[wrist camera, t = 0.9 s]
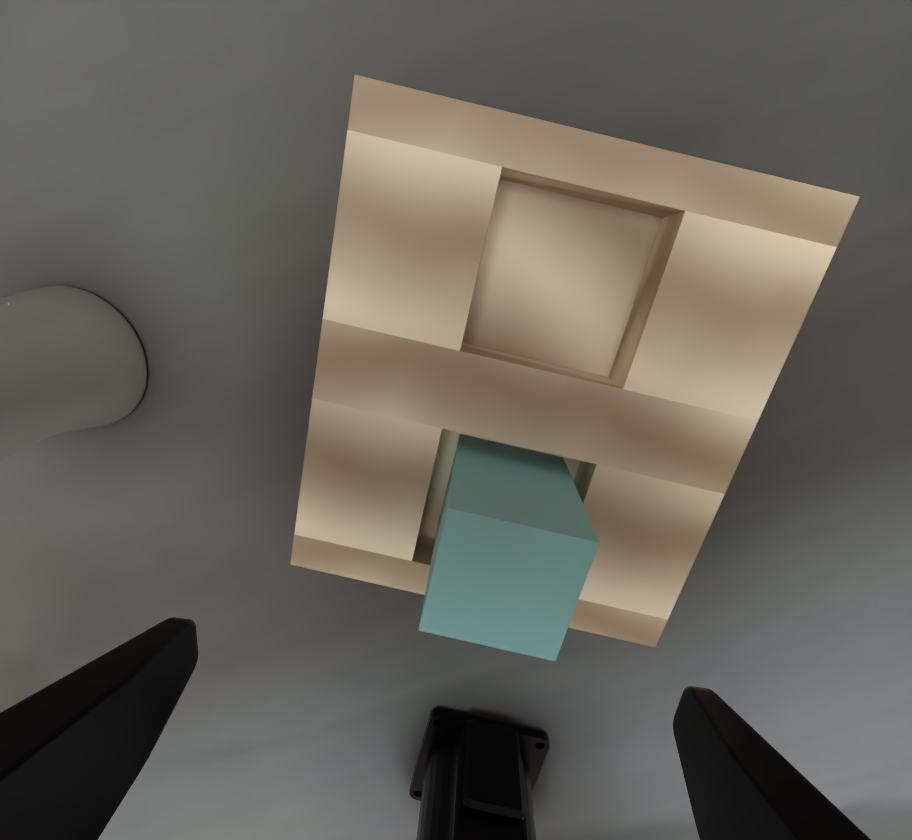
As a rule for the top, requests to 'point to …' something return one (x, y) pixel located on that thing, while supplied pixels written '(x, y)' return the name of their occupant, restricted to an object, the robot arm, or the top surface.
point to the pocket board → (547, 336)
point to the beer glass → (64, 365)
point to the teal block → (508, 550)
